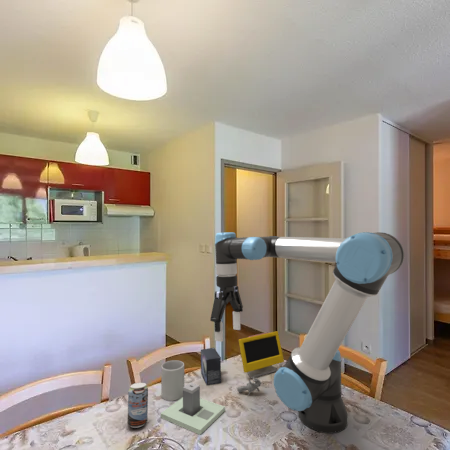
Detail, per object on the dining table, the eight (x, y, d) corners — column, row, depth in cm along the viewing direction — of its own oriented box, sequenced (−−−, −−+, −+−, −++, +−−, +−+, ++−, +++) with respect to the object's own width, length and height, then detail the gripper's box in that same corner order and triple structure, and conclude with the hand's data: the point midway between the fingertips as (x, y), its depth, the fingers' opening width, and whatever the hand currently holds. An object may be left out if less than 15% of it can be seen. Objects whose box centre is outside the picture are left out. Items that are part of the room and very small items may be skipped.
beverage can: (127, 433, 91) (126, 393, 92) (128, 418, 99) (127, 381, 99) (148, 429, 93) (148, 389, 93) (147, 415, 100) (147, 378, 100)
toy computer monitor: (245, 381, 122) (245, 341, 122) (235, 373, 129) (235, 336, 129) (284, 369, 132) (284, 333, 132) (273, 362, 139) (272, 328, 139)
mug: (184, 400, 109) (184, 369, 109) (160, 401, 108) (160, 370, 108) (185, 383, 121) (184, 355, 121) (163, 384, 120) (163, 356, 120)
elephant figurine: (241, 385, 119) (263, 379, 117) (244, 402, 115) (266, 396, 113) (231, 377, 113) (254, 371, 111) (233, 395, 108) (257, 389, 106)
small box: (200, 373, 129) (199, 348, 129) (214, 371, 131) (214, 347, 131) (205, 385, 119) (205, 359, 119) (221, 383, 121) (221, 356, 121)
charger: (199, 412, 102) (199, 385, 102) (192, 418, 98) (192, 390, 98) (190, 408, 104) (190, 381, 104) (182, 414, 100) (182, 387, 101)
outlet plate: (225, 410, 102) (225, 406, 102) (200, 434, 90) (200, 429, 90) (187, 397, 111) (187, 393, 111) (160, 417, 99) (160, 413, 99)
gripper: (233, 270, 122) (234, 324, 121) (198, 279, 100) (200, 344, 99) (250, 271, 118) (252, 326, 118) (218, 280, 96) (220, 348, 96)
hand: (228, 334), depth 108 cm, fingers open, 13 cm apart
